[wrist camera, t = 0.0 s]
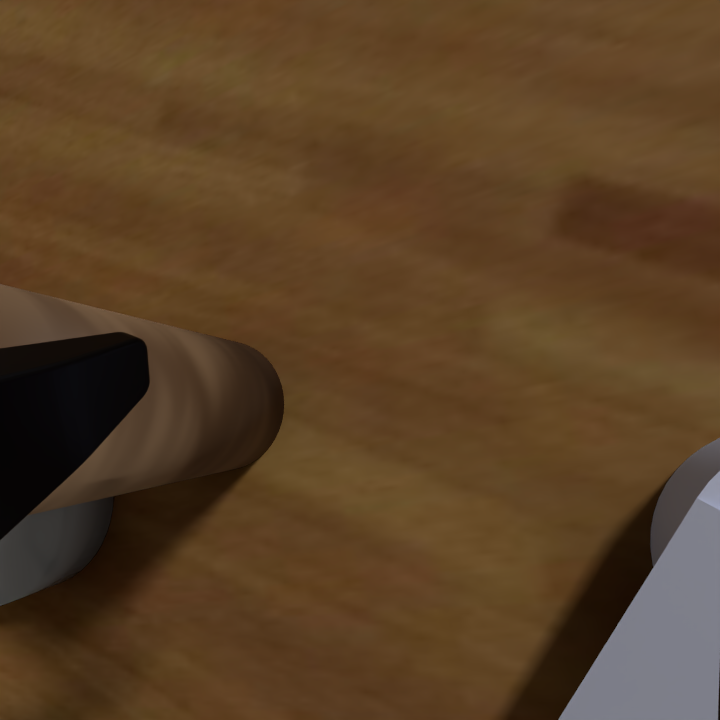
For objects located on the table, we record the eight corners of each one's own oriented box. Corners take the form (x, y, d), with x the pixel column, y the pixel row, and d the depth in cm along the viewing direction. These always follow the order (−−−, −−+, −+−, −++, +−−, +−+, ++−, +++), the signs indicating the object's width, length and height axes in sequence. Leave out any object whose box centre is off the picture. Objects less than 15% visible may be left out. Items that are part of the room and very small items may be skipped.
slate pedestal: (120, 580, 26) (71, 601, 23) (-25, 591, 28) (-86, 612, 25) (105, 394, 27) (57, 393, 24) (-33, 420, 29) (-92, 421, 26)
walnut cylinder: (291, 461, 24) (73, 515, 12) (175, 477, 25) (-125, 539, 13) (275, 331, 25) (54, 257, 13) (163, 353, 26) (-130, 306, 14)
